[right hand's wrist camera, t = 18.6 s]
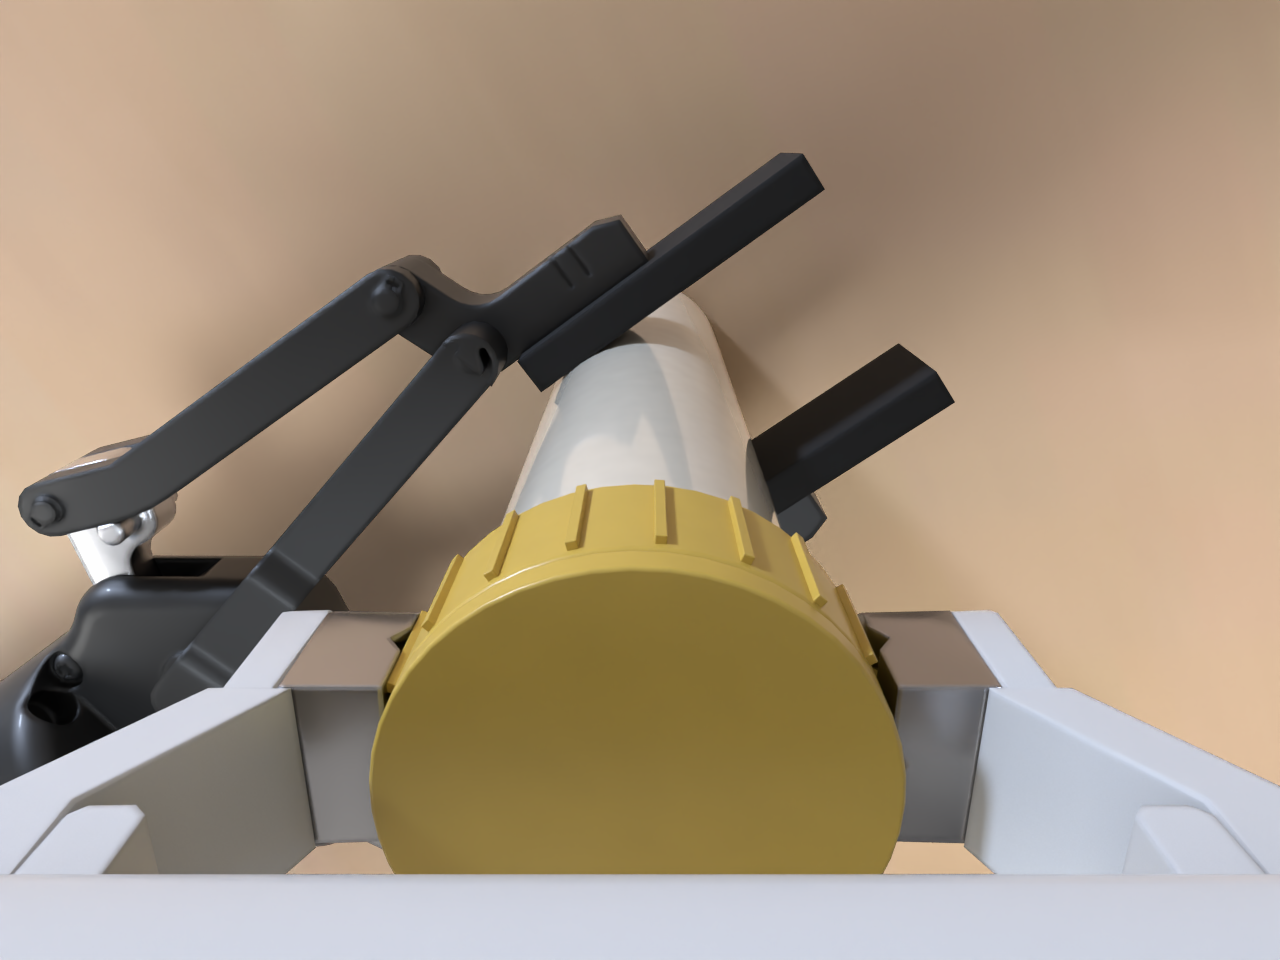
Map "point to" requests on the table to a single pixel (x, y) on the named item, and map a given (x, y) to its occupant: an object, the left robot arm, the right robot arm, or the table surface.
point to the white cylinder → (647, 419)
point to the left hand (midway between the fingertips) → (863, 275)
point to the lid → (637, 702)
